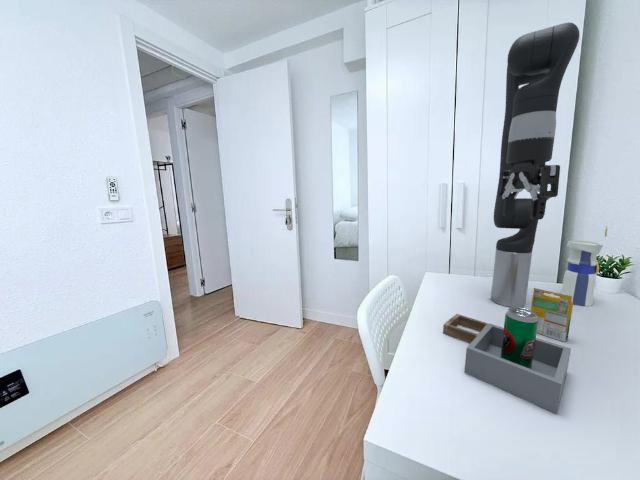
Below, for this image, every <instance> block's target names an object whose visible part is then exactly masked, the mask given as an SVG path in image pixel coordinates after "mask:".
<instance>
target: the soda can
mask: <svg viewBox="0 0 640 480" xmlns="http://www.w3.org/2000/svg"><path fill="white" fill-rule="evenodd" d="M507 309H508V310H507V311H506V312H505V317H504V323H503V324H504V325H503V328H504V331H503V339H502V348H501V356H500V358H503V359H505V360H508V361H510V362H513V363H516V364H518V365H521V366H524V367H526V368H529V369H532V362H533V355H534V348H535V341H536V338H537V334H538V333H537V328H538V319H537V317H536V316H537V315H536V313H535V312H533V311H531V309H529V308H524V307H509V308H507Z"/></svg>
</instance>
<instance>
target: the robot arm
mask: <svg viewBox="0 0 640 480" xmlns="http://www.w3.org/2000/svg"><path fill="white" fill-rule="evenodd" d="M579 40H580V30H579V27H578V26H577V25H576V24H575V23H573V22H564V23H560V24H556V25H554V26H548V27H546V28H542V29H539V30H535V31H531V32H528V33H525V34H523V35H521V36H518V37H517V39H516V40H515V41H514V42H513V43H512V44H511V46H510V48H509V50H508V53H507V66H506V77H505V79H506V83H505V110H504V111H505V112H504V119H503V128H502V135H501V147H500V161H499V162H500V163H499V177H498V184H497V188H496V189H497V190H496V196H495V202H494V211H493V224H494V226H495V227H496V228H498V229H511V230H513V229H514V230H516V229H518V231H517V232H516V233H514V234H512V235H510V236H506V237H503V238H500V239H498V240H497V241H496V244H495V255H494V265H493V273H492V274H493V275H492V285H491V294H490V300H491V301H492V302H494V303H496V304H498V305H501V306H503V307H509V308H511V307H520V308H524V307H525V306H526V302H527V294H528V287H529V280H530V271H531V264H532V256H533V251H534V250H533V248H534V244H535V241H536V240H535V238H536V233H537V230H538V229H537V228H538V223H539V220H543V219H544V216H545V214H546V209H547V206H546V205H547V201H549V199H551V198H556V197H557V196H558V195H559V187H560V183H559V182H560V175H561V174H560V173H561V165H559V164H549V165H548V164H546V163H548V162H551V160H552V158H553V152H554V143H555V136H556V129H557V108H558V102H559V101H558V100H559V94H560V89H561V85H562V83H563V82H562V81H563V78H564V76H565V73H566V71H567V68H568V67H569V64H570V62H571V60H572V57H573V56H574V53H575V51H576V49H577V46H578V45H579ZM520 86H521V87H520ZM548 185H550V189H549V190H548ZM523 190H526V192H528V193H529V194H530V196H531V198H530V197H529V198H526V197H524V198H523V197H522V198H517V196H518V195H519V193H521V192H523Z"/></svg>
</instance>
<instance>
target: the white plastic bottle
mask: <svg viewBox="0 0 640 480" xmlns="http://www.w3.org/2000/svg"><path fill="white" fill-rule="evenodd" d="M607 235H608V226H607V225H606V226H605V229H604V238H606V237H607ZM603 246H604V245H602V244H600V243H599V242H596V241H589V240H576V239H575V240H568V242H567V243H566V247H567V248H570V255H569V257H568V258H567V259H566V261H567V262H568V263H567V267H566V270H565V272H564V275H563V280H562V284H561V285H562V286H561V291H560V294H564V295H569V296H572V299H571V301H573V306H574V305H575V306H579V307H591V305H592V306H593V302H594V301H593V300H594V291H595V284H596V275H597V274H598V273H599V271H600V265H599V262H598V260H597V256H600V252H601V250H602V248H603Z"/></svg>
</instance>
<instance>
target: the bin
mask: <svg viewBox="0 0 640 480" xmlns="http://www.w3.org/2000/svg"><path fill="white" fill-rule="evenodd" d="M503 331H504V326H503V327H502V326H500V325H496V324H493V323H488V325H487V326H486V327H485V328H484V329H483V330H482V331H481V332H480V333H479V332H478V333H479V335H478V336H477V337H476V338H475V339H474V340H473V341H472V342H471V343H468V345H467V346H466V348H465V349H466V350H465V351H466V352H465V360H464V361H465V362H464V373H465V374H467V375H469V376H472V377H474V378H476V379H478V380H481V381H482V382H485V383H487V384H489V385H491V386H494V387H495V388H498V389H501V390H502V391H505V392H507V393H509V394H512V395H513V396H515V397H518V398H520V399H523V400H524V401H527V402H529V403H532V404H533V405H535V406H538V407H540V408H542V409H545V410H546V411H549V412H551V413H553V414H555V415H557V414H558V410H559V407H560V402H561V398H562V394H563V390H564V387H565V383H566V377H567V374H568V369H569V368H568V367H569V362H570V356H571V350H572V348H571V347H567V346H564V345H561V344H558V343H554V342H551V341H548V340H545V339H541V338H539V337H536V341H535V348H534V355H533V362H532V369H529V368H526V367H524V366H521V365H518V364H516V363H513V362H510V361H508V360H505V359H503V358H500V356H501V348H502V339H503Z"/></svg>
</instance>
